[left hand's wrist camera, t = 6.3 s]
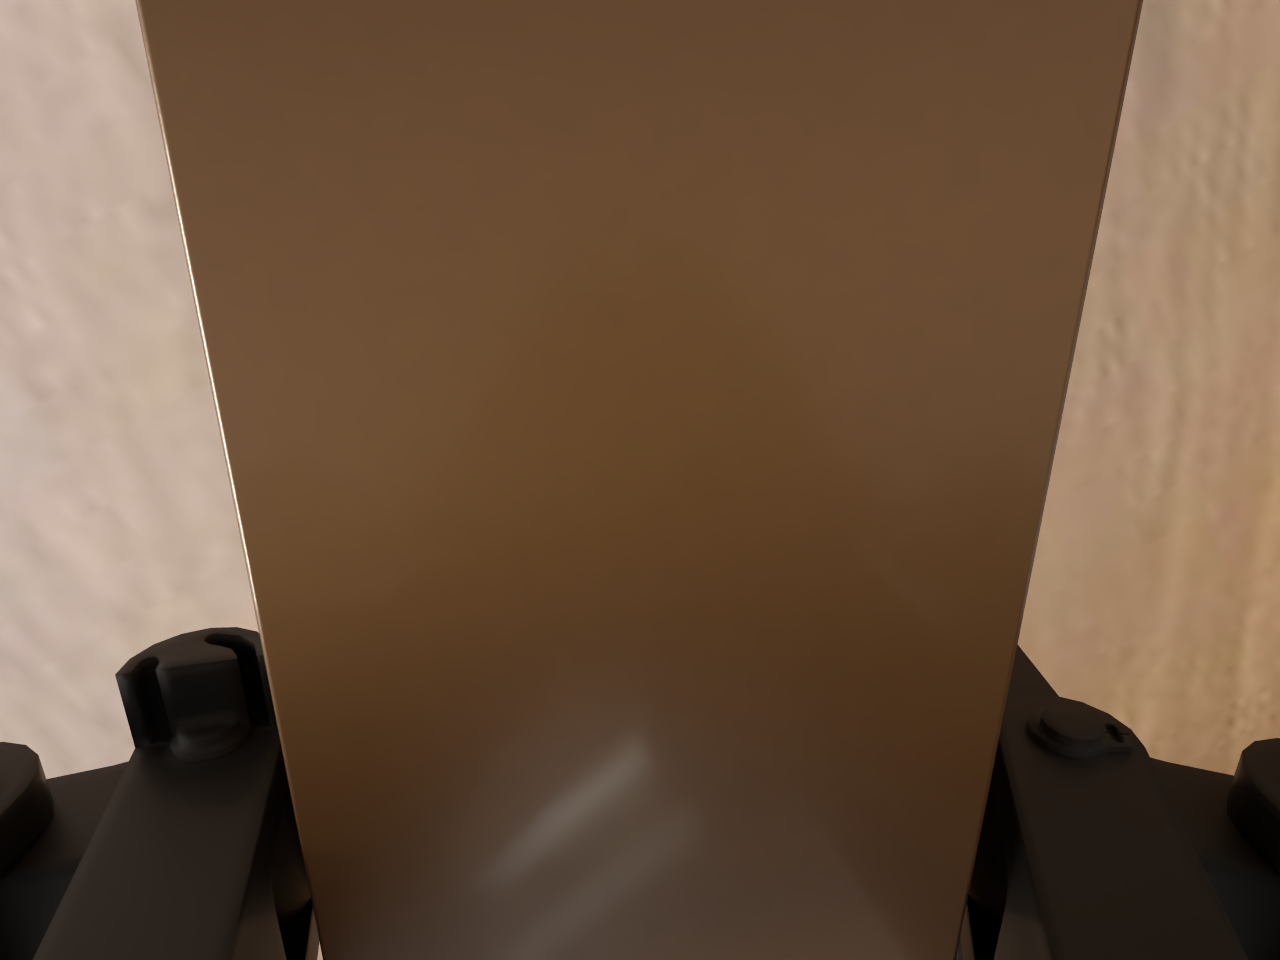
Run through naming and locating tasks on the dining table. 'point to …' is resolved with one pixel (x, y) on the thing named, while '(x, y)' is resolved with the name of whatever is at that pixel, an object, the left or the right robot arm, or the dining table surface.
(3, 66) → the dining table surface
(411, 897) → the bar
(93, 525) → the dining table surface
